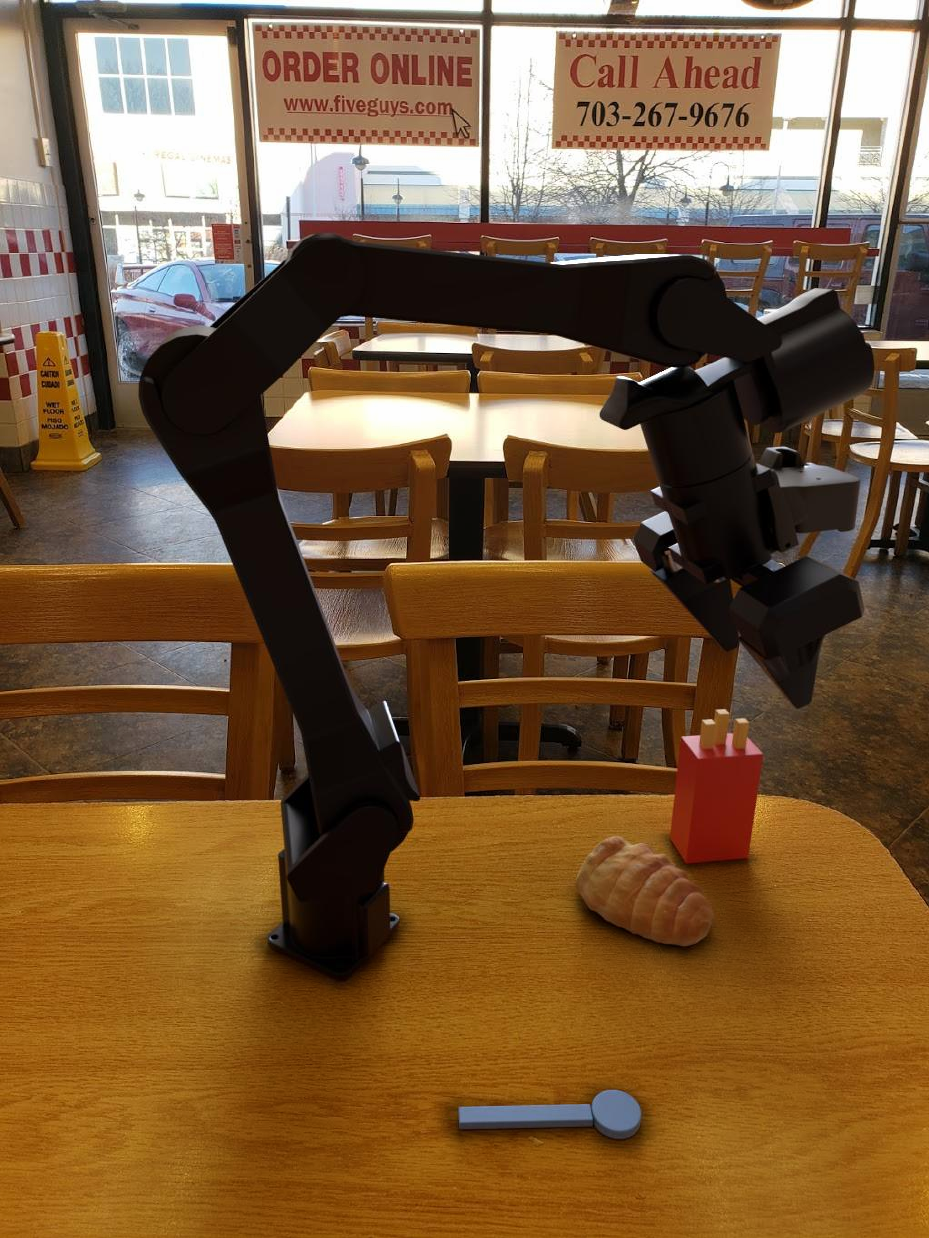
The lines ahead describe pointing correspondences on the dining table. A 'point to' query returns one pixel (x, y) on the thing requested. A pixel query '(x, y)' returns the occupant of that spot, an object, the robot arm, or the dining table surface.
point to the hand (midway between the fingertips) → (765, 675)
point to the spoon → (561, 1115)
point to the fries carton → (716, 792)
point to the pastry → (644, 893)
